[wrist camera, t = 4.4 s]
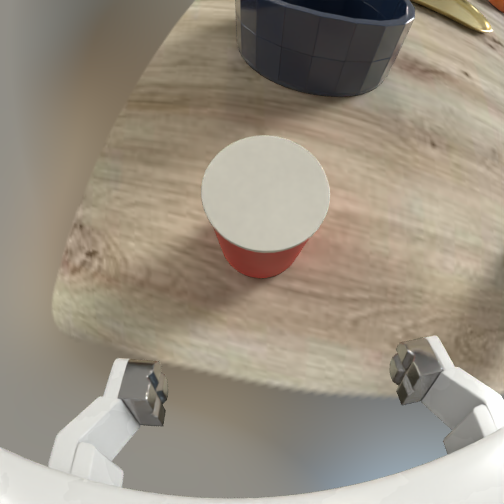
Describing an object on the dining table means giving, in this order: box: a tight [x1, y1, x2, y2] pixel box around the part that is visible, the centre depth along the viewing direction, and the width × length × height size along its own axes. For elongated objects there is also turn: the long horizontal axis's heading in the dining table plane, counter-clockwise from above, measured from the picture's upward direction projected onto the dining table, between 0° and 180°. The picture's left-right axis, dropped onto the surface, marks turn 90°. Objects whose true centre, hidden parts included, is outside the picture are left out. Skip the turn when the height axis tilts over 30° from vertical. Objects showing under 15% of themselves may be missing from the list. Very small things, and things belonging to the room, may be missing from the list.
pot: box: [235, 0, 415, 97], centre depth 22 cm, size 17×17×9 cm
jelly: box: [201, 135, 330, 278], centre depth 17 cm, size 6×6×8 cm
